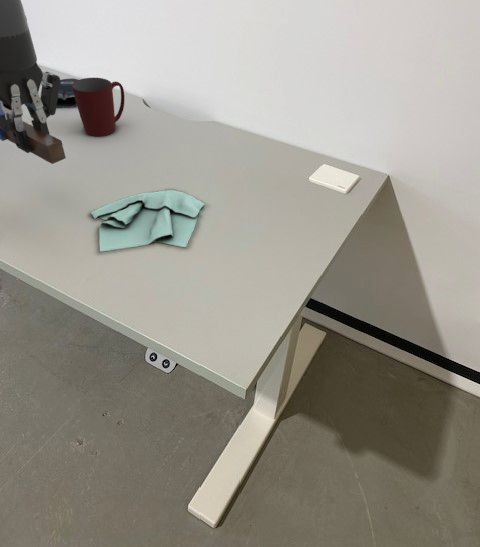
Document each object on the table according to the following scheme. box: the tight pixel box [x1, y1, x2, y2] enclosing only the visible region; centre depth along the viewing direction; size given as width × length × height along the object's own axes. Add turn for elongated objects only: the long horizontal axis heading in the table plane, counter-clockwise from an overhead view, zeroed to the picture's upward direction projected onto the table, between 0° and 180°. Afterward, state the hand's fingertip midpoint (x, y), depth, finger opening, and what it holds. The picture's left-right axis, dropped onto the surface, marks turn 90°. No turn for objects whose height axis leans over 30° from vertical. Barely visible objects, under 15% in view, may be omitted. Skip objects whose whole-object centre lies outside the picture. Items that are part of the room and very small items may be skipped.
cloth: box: [91, 189, 205, 253], centre depth 79 cm, size 20×22×2 cm
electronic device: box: [56, 77, 79, 108], centre depth 117 cm, size 9×6×15 cm
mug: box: [72, 77, 125, 137], centre depth 102 cm, size 12×9×11 cm
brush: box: [0, 103, 67, 165], centre depth 67 cm, size 4×18×4 cm, turn 53°
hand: (35, 146), depth 67 cm, fingers closed on brush, 2 cm apart
